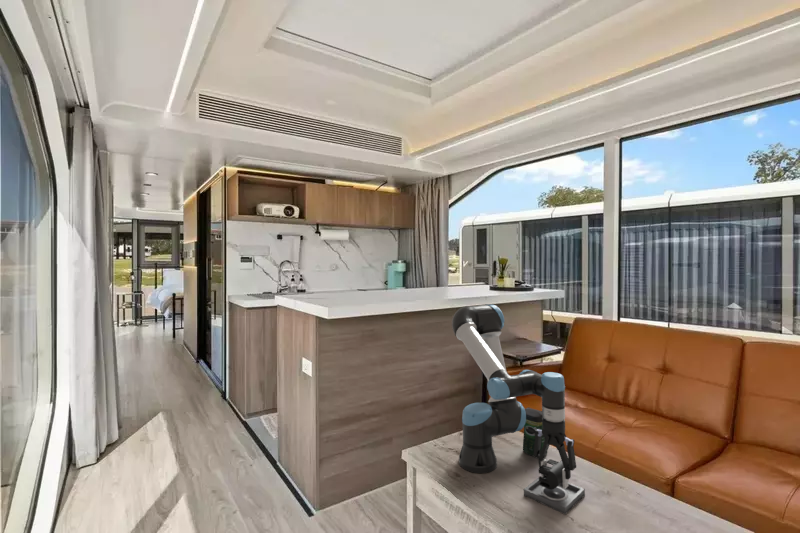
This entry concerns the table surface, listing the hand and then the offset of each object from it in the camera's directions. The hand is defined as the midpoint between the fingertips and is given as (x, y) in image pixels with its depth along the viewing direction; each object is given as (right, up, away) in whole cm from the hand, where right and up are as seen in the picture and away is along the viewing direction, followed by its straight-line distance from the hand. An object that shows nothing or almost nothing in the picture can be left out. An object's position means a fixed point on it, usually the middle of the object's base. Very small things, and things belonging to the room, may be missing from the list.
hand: (554, 482), depth 146 cm
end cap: (0, -1, 0) cm, 1 cm away
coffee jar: (+3, -3, +31) cm, 31 cm away
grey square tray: (0, -5, 0) cm, 5 cm away
